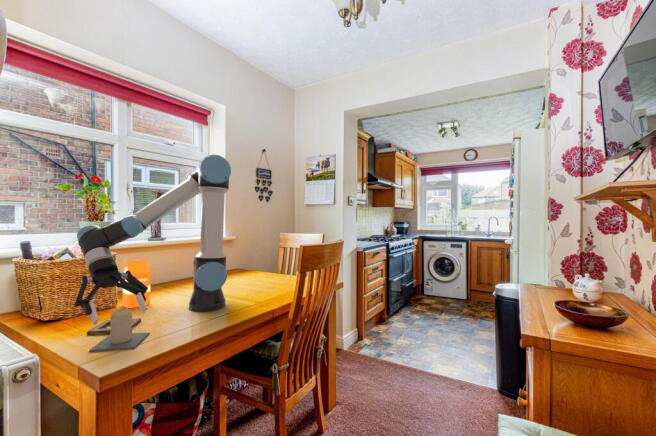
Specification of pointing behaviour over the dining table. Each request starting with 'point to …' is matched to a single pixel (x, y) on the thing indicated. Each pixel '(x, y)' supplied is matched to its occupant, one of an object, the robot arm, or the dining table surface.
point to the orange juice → (143, 275)
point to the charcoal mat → (132, 344)
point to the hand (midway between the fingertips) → (122, 316)
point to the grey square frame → (100, 330)
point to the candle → (121, 326)
